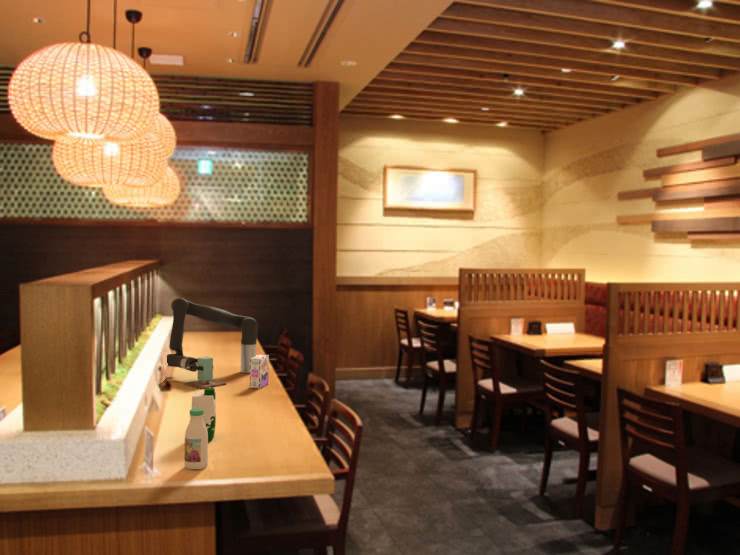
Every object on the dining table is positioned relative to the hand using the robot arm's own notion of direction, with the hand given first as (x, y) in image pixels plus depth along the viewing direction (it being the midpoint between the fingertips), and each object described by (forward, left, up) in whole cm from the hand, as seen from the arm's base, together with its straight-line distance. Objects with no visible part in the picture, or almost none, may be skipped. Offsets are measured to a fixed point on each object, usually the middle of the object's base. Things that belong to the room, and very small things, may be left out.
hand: (207, 368), depth 344 cm
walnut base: (0, -3, -9) cm, 10 cm away
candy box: (-19, +20, -10) cm, 30 cm away
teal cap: (0, -3, -7) cm, 7 cm away
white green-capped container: (+57, +79, -10) cm, 98 cm away
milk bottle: (+77, +104, -10) cm, 130 cm away
